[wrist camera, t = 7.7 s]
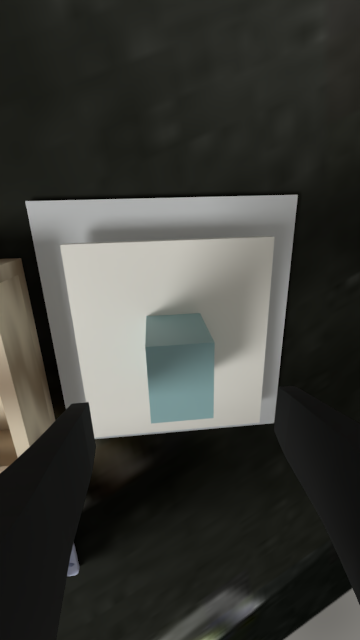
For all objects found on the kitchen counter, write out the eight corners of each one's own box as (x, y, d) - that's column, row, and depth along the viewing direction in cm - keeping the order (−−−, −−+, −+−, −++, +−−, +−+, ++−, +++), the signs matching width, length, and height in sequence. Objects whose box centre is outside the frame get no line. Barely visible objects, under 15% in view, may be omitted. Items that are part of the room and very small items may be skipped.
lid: (249, 404, 21) (285, 472, 16) (97, 417, 20) (77, 494, 15) (261, 234, 17) (314, 244, 12) (70, 241, 16) (28, 255, 11)
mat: (271, 419, 23) (274, 423, 22) (73, 437, 21) (72, 441, 21) (294, 195, 17) (297, 194, 17) (28, 201, 16) (25, 201, 15)
